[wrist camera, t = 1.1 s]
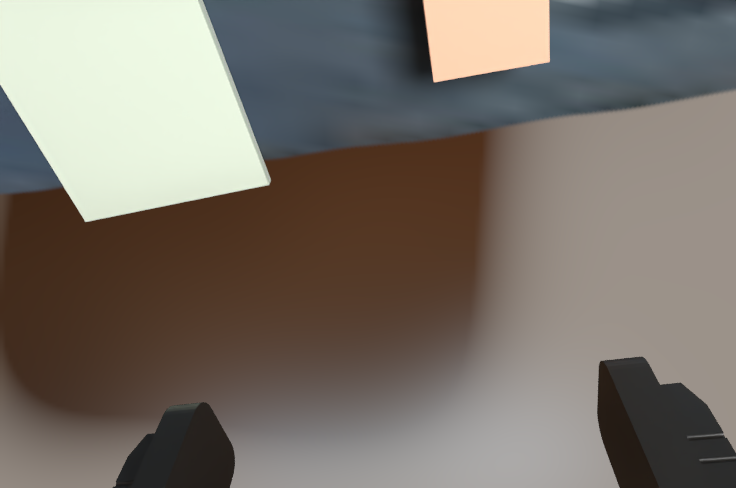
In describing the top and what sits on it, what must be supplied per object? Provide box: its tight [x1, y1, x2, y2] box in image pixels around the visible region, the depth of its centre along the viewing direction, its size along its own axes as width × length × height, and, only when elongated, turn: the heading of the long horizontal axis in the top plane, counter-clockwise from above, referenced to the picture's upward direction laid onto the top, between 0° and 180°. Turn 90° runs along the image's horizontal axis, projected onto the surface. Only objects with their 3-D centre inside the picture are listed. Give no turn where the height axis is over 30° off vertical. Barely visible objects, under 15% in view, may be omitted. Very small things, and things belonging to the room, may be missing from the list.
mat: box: [0, 0, 271, 222], centre depth 27 cm, size 16×12×1 cm
